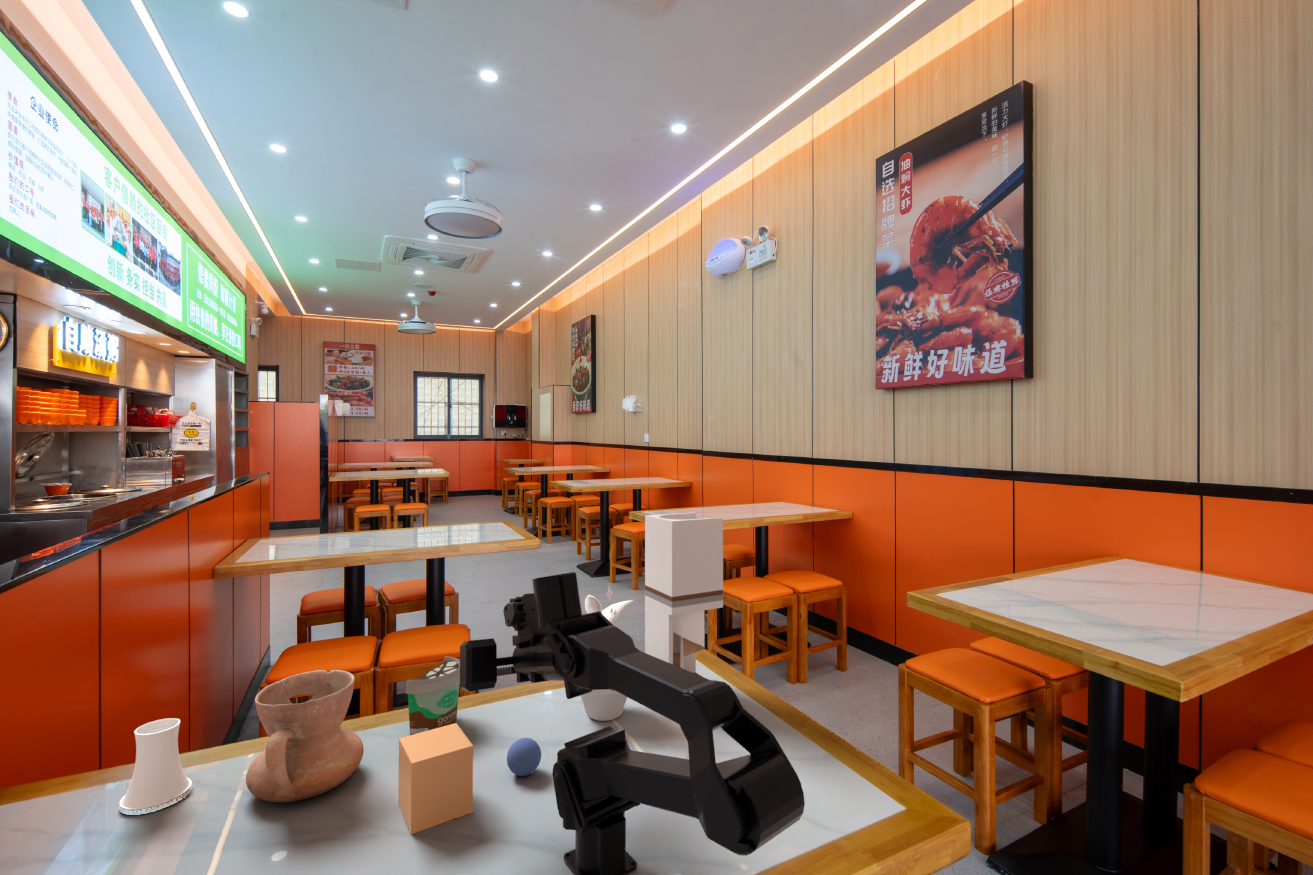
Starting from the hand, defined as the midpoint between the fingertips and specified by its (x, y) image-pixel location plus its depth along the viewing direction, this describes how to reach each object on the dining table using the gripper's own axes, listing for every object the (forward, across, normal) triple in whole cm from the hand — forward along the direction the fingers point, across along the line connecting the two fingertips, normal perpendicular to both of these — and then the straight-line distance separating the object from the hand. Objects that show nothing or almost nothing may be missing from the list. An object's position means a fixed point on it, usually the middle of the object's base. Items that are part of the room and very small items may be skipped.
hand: (502, 659), depth 87 cm
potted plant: (+10, -25, +12) cm, 29 cm away
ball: (+2, -4, +14) cm, 15 cm away
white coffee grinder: (+7, -40, +11) cm, 43 cm away
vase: (+29, +38, +14) cm, 49 cm away
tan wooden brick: (+3, +9, +18) cm, 20 cm away
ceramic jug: (+19, +22, +14) cm, 32 cm away
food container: (+24, 0, +11) cm, 26 cm away
